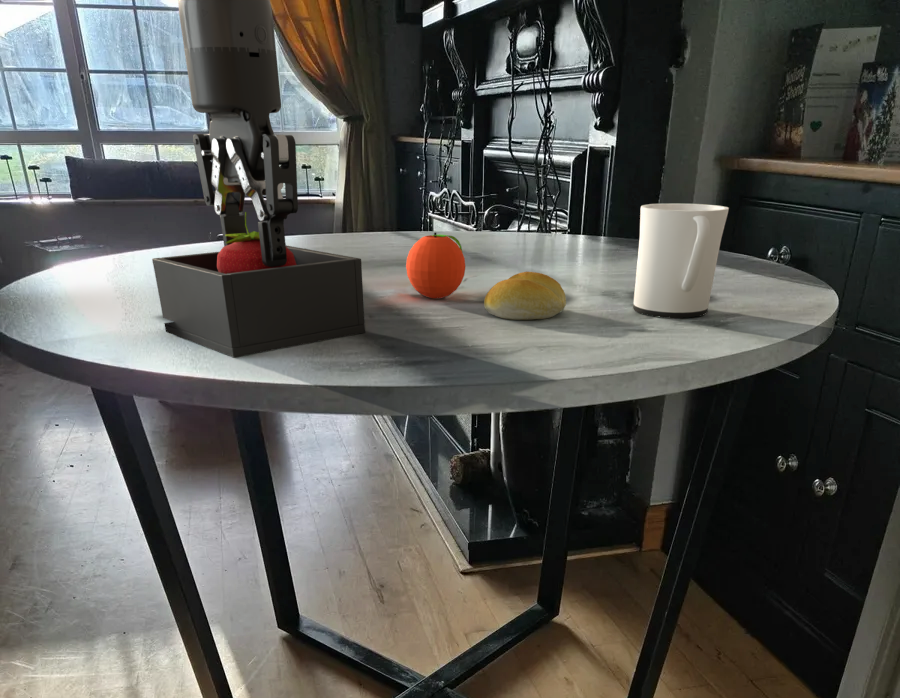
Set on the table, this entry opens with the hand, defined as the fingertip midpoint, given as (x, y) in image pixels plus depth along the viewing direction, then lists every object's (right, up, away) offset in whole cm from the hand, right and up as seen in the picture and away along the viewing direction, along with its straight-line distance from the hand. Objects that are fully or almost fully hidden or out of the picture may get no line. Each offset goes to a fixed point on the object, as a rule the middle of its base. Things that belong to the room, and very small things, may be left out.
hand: (256, 260), depth 74 cm
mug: (+43, -1, +12) cm, 45 cm away
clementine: (+17, +4, +19) cm, 26 cm away
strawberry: (0, -5, +3) cm, 6 cm away
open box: (0, -6, +3) cm, 7 cm away
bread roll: (+27, -1, +12) cm, 29 cm away
